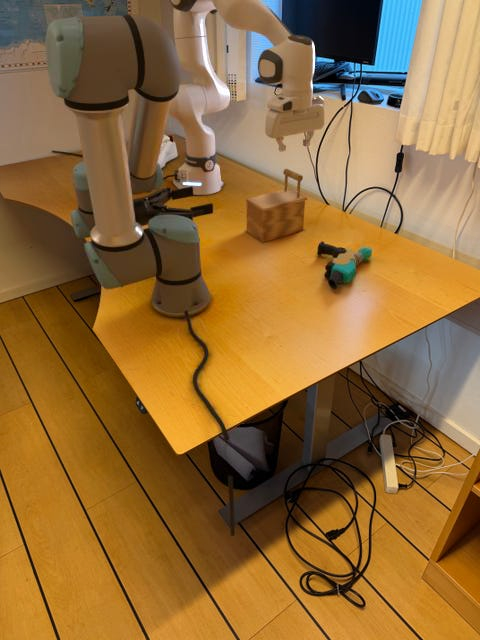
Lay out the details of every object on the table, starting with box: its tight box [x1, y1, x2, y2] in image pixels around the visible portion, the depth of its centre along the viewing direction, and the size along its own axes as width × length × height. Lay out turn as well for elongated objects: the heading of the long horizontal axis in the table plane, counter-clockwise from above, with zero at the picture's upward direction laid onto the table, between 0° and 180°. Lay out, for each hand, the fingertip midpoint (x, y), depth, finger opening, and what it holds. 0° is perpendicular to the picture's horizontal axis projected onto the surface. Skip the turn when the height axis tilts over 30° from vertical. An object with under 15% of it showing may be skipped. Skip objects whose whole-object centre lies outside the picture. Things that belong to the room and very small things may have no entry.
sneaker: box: [158, 134, 179, 169], centre depth 214 cm, size 10×29×12 cm, turn 163°
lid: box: [246, 168, 308, 212], centre depth 152 cm, size 17×10×8 cm, turn 122°
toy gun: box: [316, 240, 373, 290], centre depth 137 cm, size 4×26×15 cm
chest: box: [246, 200, 306, 243], centre depth 157 cm, size 16×10×10 cm, turn 122°
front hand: (202, 199), depth 137 cm, fingers open, 13 cm apart
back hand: (294, 148), depth 147 cm, fingers open, 8 cm apart
